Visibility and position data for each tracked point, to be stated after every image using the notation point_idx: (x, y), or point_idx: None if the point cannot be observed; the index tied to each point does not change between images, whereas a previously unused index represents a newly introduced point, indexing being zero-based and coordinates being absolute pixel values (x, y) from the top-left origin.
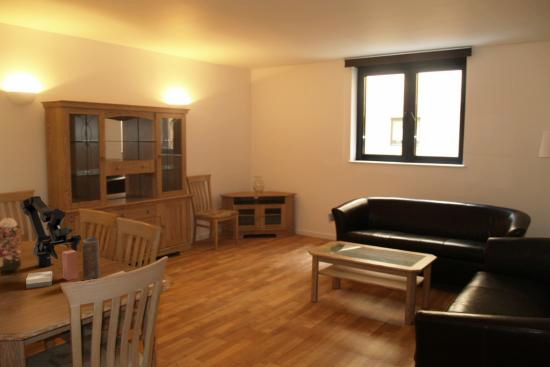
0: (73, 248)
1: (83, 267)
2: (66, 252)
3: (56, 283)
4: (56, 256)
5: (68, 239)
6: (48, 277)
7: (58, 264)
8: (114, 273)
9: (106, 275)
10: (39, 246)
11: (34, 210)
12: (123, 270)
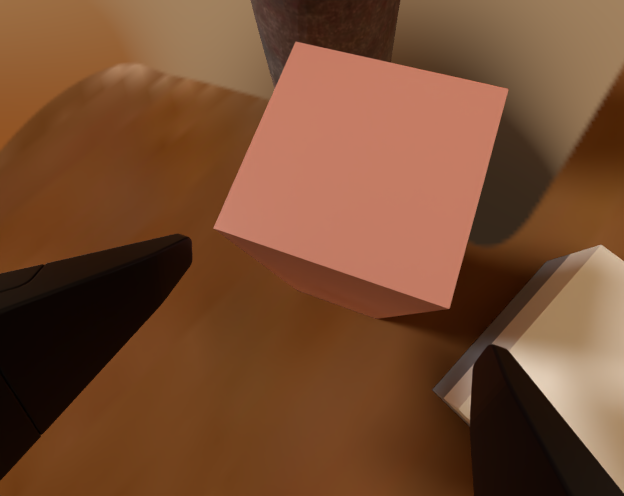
0: (63, 353)
1: (395, 16)
2: (436, 164)
3: (493, 263)
4: (521, 369)
5: None
6: (618, 259)
7: None
8: (170, 76)
9: (218, 89)
10: None
11: None
12: (103, 71)
